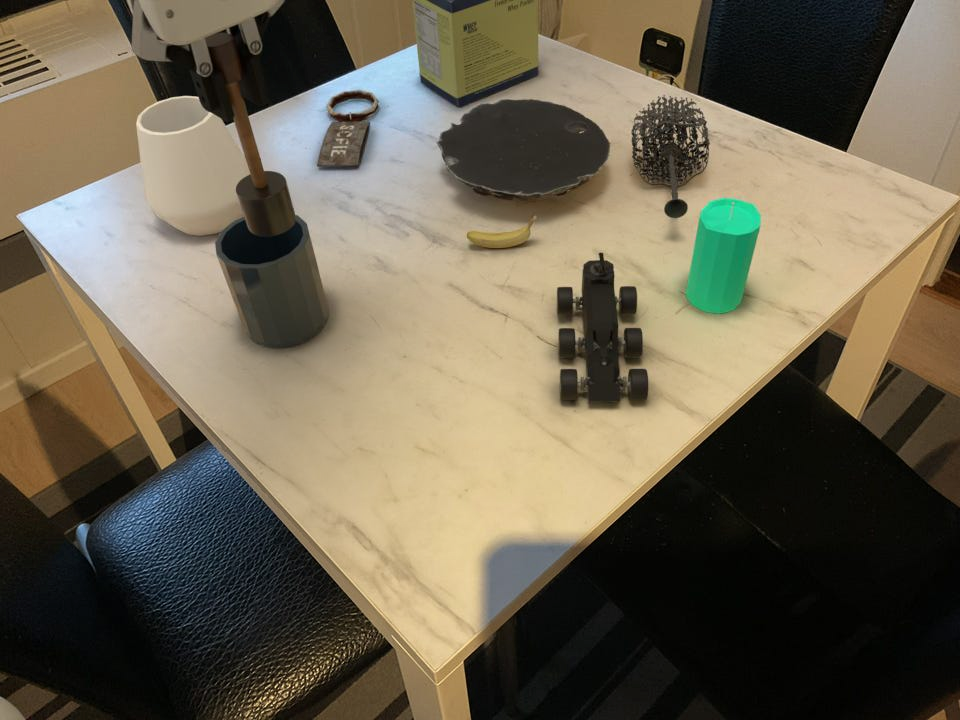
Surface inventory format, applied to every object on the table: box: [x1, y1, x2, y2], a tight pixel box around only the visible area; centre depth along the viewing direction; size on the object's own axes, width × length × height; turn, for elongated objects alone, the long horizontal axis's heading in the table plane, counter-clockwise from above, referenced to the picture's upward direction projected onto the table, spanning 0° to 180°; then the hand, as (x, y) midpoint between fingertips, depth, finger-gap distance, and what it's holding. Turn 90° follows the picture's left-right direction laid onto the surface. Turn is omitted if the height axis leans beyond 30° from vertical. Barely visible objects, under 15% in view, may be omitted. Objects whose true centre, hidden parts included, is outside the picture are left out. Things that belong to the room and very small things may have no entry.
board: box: [436, 98, 611, 203], centre depth 102 cm, size 22×22×5 cm
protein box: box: [411, 0, 540, 108], centre depth 117 cm, size 10×16×16 cm
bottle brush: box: [205, 32, 297, 237], centre depth 66 cm, size 4×4×17 cm
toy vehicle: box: [556, 252, 649, 403], centre depth 78 cm, size 8×15×9 cm, turn 178°
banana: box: [466, 213, 537, 249], centre depth 93 cm, size 8×2×4 cm, turn 94°
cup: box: [135, 95, 250, 237], centre depth 96 cm, size 13×13×14 cm
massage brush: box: [630, 94, 711, 219], centre depth 97 cm, size 9×22×9 cm, turn 174°
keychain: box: [316, 89, 380, 168], centre depth 113 cm, size 8×19×2 cm, turn 177°
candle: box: [685, 197, 762, 315], centre depth 82 cm, size 6×6×12 cm
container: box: [214, 214, 330, 349], centre depth 83 cm, size 9×9×11 cm
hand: (237, 105), depth 64 cm, fingers closed on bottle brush, 2 cm apart
